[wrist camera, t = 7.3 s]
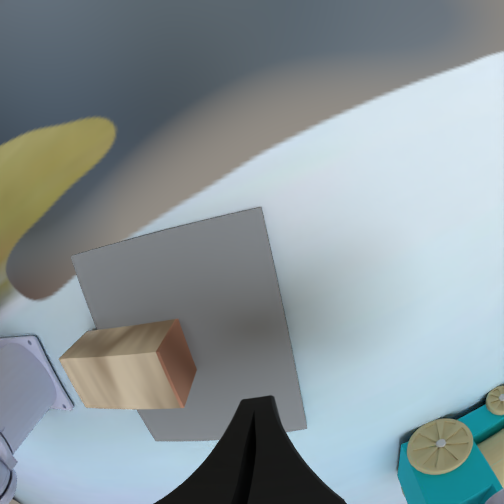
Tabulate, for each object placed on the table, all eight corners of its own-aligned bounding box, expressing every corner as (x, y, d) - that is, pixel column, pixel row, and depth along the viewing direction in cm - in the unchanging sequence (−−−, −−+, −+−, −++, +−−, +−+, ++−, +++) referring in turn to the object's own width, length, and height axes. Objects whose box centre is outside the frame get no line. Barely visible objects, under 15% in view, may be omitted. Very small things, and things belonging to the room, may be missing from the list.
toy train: (509, 413, 21) (564, 486, 7) (394, 472, 23) (429, 576, 8) (524, 366, 20) (598, 442, 5) (398, 432, 21) (450, 560, 7)
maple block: (196, 369, 19) (108, 376, 20) (178, 318, 18) (87, 331, 19) (184, 407, 15) (86, 407, 16) (158, 351, 14) (58, 358, 15)
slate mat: (157, 437, 22) (155, 441, 21) (74, 254, 18) (70, 256, 18) (306, 424, 21) (307, 428, 20) (261, 206, 17) (261, 207, 16)
